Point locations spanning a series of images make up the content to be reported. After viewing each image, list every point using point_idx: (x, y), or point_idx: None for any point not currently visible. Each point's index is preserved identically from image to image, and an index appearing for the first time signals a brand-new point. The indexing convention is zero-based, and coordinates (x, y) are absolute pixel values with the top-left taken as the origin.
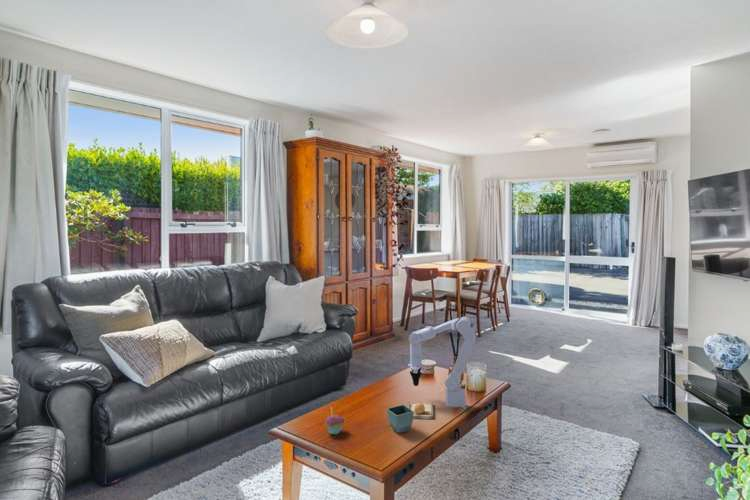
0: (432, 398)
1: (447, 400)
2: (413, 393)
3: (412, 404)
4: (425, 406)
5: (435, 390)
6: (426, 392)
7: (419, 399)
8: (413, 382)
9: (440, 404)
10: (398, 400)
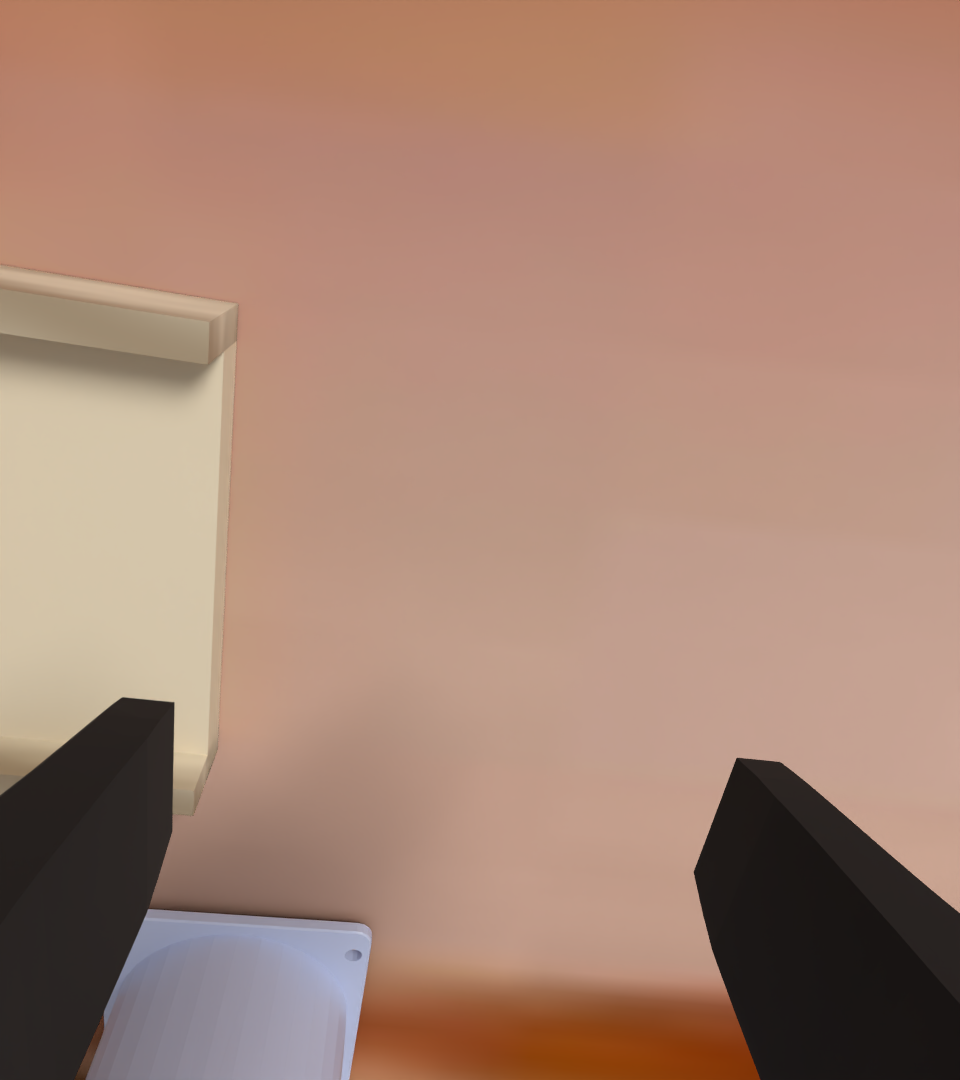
0: (614, 783)
1: (131, 1052)
2: (950, 501)
3: (190, 414)
4: (96, 656)
5: (954, 856)
6: (917, 725)
7: (605, 578)
8: (23, 785)
9: (335, 860)
10: (624, 101)
